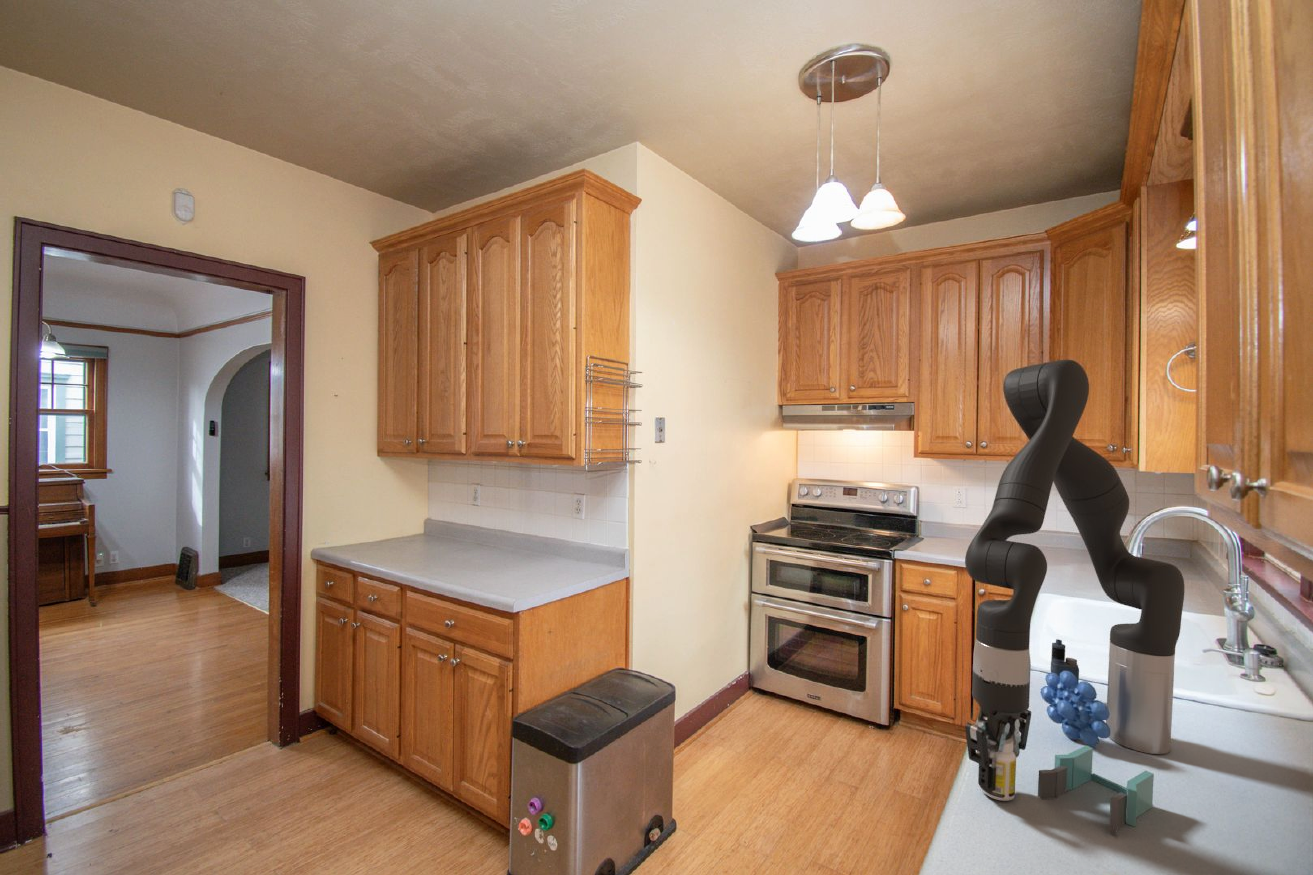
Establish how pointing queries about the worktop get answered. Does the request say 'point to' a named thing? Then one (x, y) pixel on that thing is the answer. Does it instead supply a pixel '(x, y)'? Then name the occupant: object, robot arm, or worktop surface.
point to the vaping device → (1062, 660)
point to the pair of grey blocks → (1055, 786)
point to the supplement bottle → (1004, 773)
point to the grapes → (1075, 708)
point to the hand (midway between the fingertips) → (996, 782)
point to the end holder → (1108, 781)
